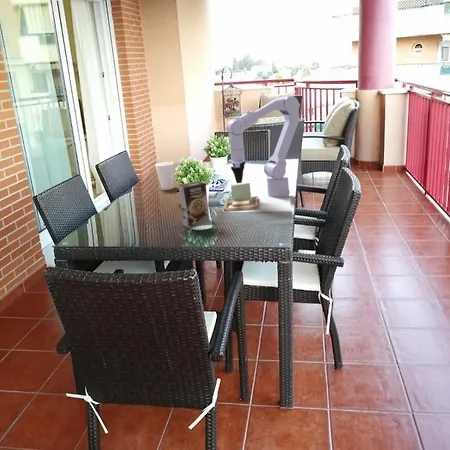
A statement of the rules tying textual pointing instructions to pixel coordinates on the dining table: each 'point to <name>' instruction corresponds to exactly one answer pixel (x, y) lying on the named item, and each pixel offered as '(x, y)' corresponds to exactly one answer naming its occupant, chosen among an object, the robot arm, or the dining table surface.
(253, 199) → the rack
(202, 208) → the brown cookie box
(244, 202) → the offcut upper
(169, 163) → the foam cup
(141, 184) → the dining table surface
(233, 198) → the pale green slab
